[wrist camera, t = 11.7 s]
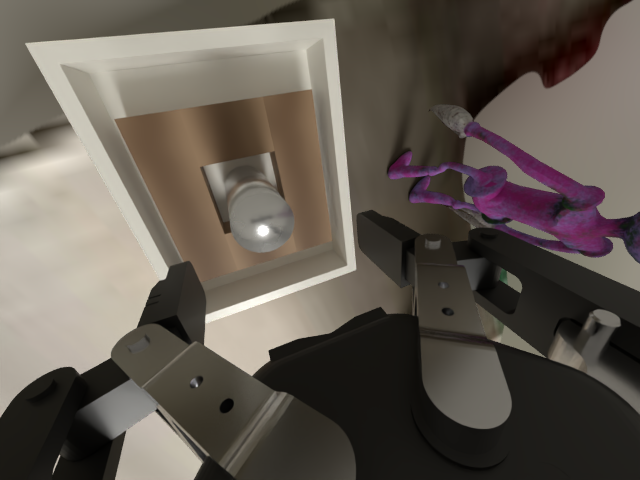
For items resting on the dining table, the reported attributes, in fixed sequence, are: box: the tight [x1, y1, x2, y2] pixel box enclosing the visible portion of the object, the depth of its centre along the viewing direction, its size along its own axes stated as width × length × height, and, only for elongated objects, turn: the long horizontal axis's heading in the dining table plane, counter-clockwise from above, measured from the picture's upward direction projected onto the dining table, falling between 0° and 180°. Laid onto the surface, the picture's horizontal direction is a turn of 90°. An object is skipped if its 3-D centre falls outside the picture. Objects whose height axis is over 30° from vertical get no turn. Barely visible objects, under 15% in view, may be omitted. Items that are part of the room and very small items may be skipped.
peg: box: [225, 165, 294, 253], centre depth 20 cm, size 4×4×10 cm
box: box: [25, 19, 356, 324], centre depth 23 cm, size 18×22×5 cm
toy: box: [388, 104, 640, 263], centre depth 22 cm, size 16×7×24 cm, turn 47°
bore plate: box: [114, 89, 332, 282], centre depth 23 cm, size 14×14×3 cm
